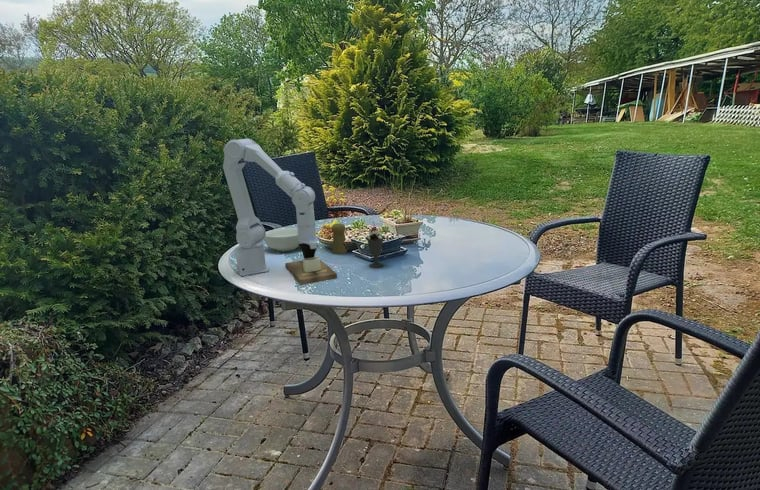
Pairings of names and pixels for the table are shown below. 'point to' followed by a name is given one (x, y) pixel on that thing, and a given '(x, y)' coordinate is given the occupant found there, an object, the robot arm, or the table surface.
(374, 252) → the sundae
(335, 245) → the olive brown pepper mill
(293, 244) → the cereal bowl
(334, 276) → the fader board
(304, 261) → the cream block
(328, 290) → the table surface
